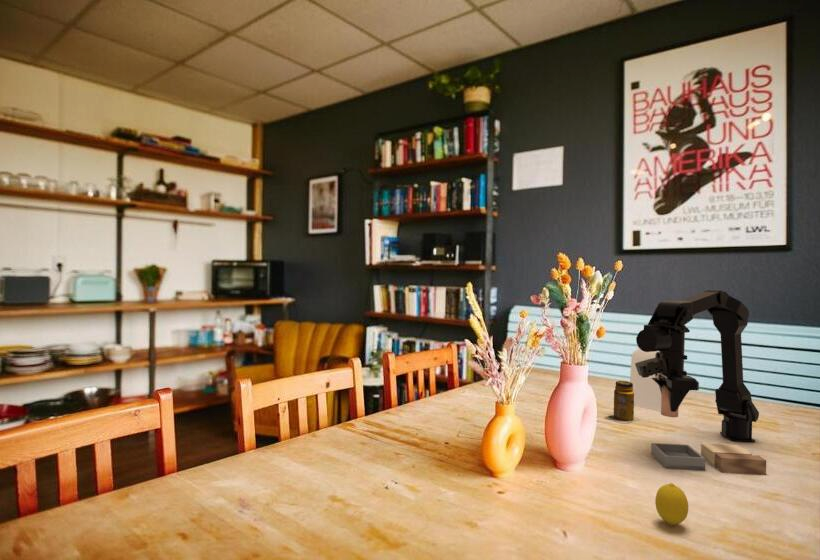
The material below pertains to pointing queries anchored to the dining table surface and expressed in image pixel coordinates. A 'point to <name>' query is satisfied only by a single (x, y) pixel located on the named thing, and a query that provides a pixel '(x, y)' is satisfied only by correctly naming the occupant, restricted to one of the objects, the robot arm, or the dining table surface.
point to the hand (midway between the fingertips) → (670, 409)
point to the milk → (644, 384)
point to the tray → (678, 456)
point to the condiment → (623, 403)
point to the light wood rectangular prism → (720, 451)
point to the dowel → (666, 404)
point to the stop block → (740, 463)
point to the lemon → (671, 504)
